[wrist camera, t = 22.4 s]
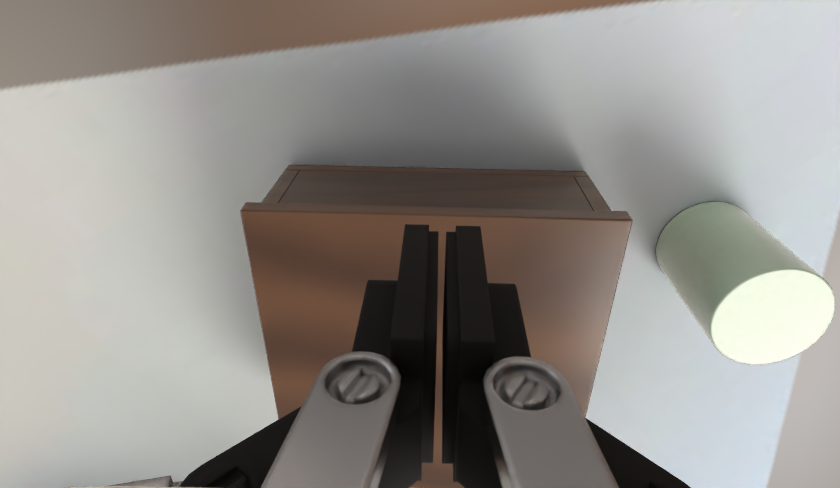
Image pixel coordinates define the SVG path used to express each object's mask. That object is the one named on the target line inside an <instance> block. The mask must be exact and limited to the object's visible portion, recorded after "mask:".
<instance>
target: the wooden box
mask: <svg viewBox="0 0 840 488" xmlns="http://www.w3.org/2000/svg"><path fill="white" fill-rule="evenodd" d="M262 203H293V204H335V205H377V206H419V207H461V208H502V209H544V210H586V211H611V209H610V208H609V206H608V205H607V203H606V202H605V200H604V199H603V197H602V196H601V194H600V193H599V191H598V190H597V188H596V187H595V185H594V184H593V182H592V180H591V179H590V177H588V175H587V173H586V172H585V171H542V170H496V169H451V168H405V167H359V166H314V165H289V166H288V167H287V168H286V170H285V171H284V172H283V174H282V175H281V177H280V178H279V179H278V181H277V182H276V183H275V185H274V186H273V187H272V189H271V190H270V192H269V193H268V194H267V196H266V197H265V198H264V200H263V201H262Z"/></svg>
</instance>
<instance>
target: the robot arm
mask: <svg viewBox="0 0 840 488" xmlns="http://www.w3.org/2000/svg"><path fill="white" fill-rule="evenodd" d="M438 235H439V231H429V225H417V224H405V228H404V236H403V243H402V251H401V259H400V266H399V274H398V280H368V282H367V285H366V289H365V294H364V299H363V303H362V308H361V312H360V317H359V321H358V326H357V330H356V335H355V340H354V344H353V349H352V352H351V353H346V354H343V355H340V356H338V357H336V358H333V359H332V360H331V361H329V362H328V363H327V364H325V365H324V366H323V368H322V369H321V370H320V372H319V373H318V375H317V377H316V379H315V381H314V383H313V385H312V387H311V388H310V390H309V392H308V394H307V396H306V398H305V400H304V402H303V404H302V406H301V407H299V408H298V409H296V410H294V411H292V412H291V413H289V414H287V415H286V416H284V417H282V418H281V419H279V420H277V421H276V422H274V423H272V424H270V425H269V426H267V427H265V428H264V429H262V430H260V431H259V432H257V433H255V434H253V435H252V436H250V437H248V438H247V439H245V440H243V441H242V442H240V443H238V444H237V445H235V446H233V447H231V448H230V449H228V450H226V451H225V452H223V453H221V454H220V455H218V456H216V457H215V458H213V459H211V460H209V461H208V462H206V463H204V464H203V465H201V466H200V467H198V468H197V469H196V470H194V471H193V472H192V473H190V474H189V475H188V476H187V477H186V479H185V480H184V481H180V482H174V483H173V481H172V478H171V476H166V477H160V478H154V479H148V480H142V481H135V482H129V483H123V484H117V485H111V486H103V487H68V488H409V487H410V486H412V485H413V484H414V483H415V482H417V481H421V476H422V463H433V449H434V417H435V386H436V354H437V301H438ZM442 464H453V482H459V483H460V484H461V485H462V486H463V487H464V488H690V487H689V486H688V485H687V484H685V483H684V482H682V481H681V480H679V479H678V478H676V477H675V476H673V475H672V474H670V473H669V472H667V471H666V470H664V469H663V468H661V467H660V466H658V465H657V464H655V463H653V462H652V461H650V460H649V459H647V458H646V457H644V456H643V455H641V454H640V453H638V452H637V451H635V450H634V449H632V448H631V447H629V446H627V445H626V444H624V443H623V442H621V441H620V440H618V439H617V438H615V437H614V436H612V435H611V434H609V433H608V432H606V431H605V430H603V429H601V428H600V427H598V426H597V425H595V424H594V423H592V422H591V421H589V420H588V419H586V418H585V417H584V414H583V412H582V410H581V408H580V406H579V404H578V402H577V400H576V398H575V396H574V394H573V392H572V390H571V388H570V386H569V384H568V382H567V380H566V379H565V378H564V376H563V375H562V373H561V372H559V371H558V370H557V369H556V368H554V367H553V366H552V365H550V364H548V363H546V362H544V361H541V360H538V359H534V358H531V354H530V349H529V344H528V340H527V335H526V330H525V325H524V320H523V316H522V311H521V306H520V301H519V297H518V292H517V288H516V285H515V284H507V283H488V281H487V273H486V265H485V257H484V250H483V242H482V234H481V227H480V226H456V230H455V232H446V250H445V277H444V303H443V331H442Z"/></svg>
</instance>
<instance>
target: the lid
mask: <svg viewBox="0 0 840 488" xmlns="http://www.w3.org/2000/svg"><path fill="white" fill-rule="evenodd" d="M240 212H241V217H242V223H243V228H244V234H245V239H246V245H247V250H248V256H249V261H250V266H251V272H252V277H253V283H254V288H255V294H256V299H257V304H258V310H259V315H260V321H261V326H262V332H263V337H264V342H265V348H266V353H267V359H268V364H269V370H270V375H271V381H272V386H273V391H274V397H275V402H276V408H277V413H278V419H281V418H282V417H284V416H286V415H287V414H289V413H291V412H292V411H294V410H296V409H298V408H299V407H301V406H302V404H303V402H304V400H305V398H306V396H307V394H308V392H309V390H310V388H311V387H312V385H313V383H314V381H315V379H316V377H317V375H318V373H319V372H320V370H321V369H322V368H323V366H324V365H325V364H327V363H328V362H329V361H331V360H332V359H333V358H336V357H338V356H340V355H343V354H346V353H351V352H352V349H353V344H354V340H355V335H356V330H357V326H358V321H359V317H360V312H361V308H362V303H363V299H364V294H365V289H366V285H367V282H368V280H398V274H399V266H400V259H401V251H402V243H403V236H404V228H405V224H417V225H429V231H439V235H438V301H437V354H436V386H435V417H434V449H433V463H422V476H421V481H417V482H415V483H414V484H413V485H412V486H410V487H409V488H464V487H463V486H462V485H461V484H460V483H459V482H453V464H442V331H443V303H444V277H445V250H446V232H455V230H456V226H480V227H481V234H482V242H483V250H484V257H485V265H486V273H487V281H488V283H507V284H515V285H516V288H517V292H518V297H519V301H520V306H521V311H522V316H523V320H524V325H525V330H526V335H527V340H528V344H529V349H530V354H531V358H534V359H538V360H541V361H544V362H546V363H548V364H550V365H552V366H553V367H554V368H556V369H557V370H558V371H559V372H561V373H562V375H563V376H564V378H565V379H566V380H567V382H568V384H569V386H570V388H571V390H572V392H573V394H574V396H575V398H576V400H577V402H578V404H579V406H580V408H581V410H582V412H583V414H584V417H586V413H587V409H588V404H589V400H590V396H591V392H592V388H593V383H594V379H595V375H596V371H597V367H598V363H599V358H600V354H601V350H602V346H603V342H604V337H605V333H606V329H607V325H608V321H609V317H610V312H611V308H612V304H613V300H614V296H615V291H616V287H617V283H618V279H619V275H620V271H621V266H622V262H623V258H624V254H625V250H626V245H627V241H628V237H629V233H630V229H631V225H632V219H631V217H630V216H629V214H628V212H626V211H586V210H544V209H502V208H461V207H419V206H377V205H335V204H293V203H251V202H247V203H245V205H244V206H243V208H242V209H241V211H240Z"/></svg>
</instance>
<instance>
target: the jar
mask: <svg viewBox="0 0 840 488" xmlns="http://www.w3.org/2000/svg"><path fill="white" fill-rule="evenodd" d="M656 257H657V262H658V265H659V266H660V268H661V270H662V271H663V273H664V274H665V276H666V277H667V279H668V280H669V281H670V283H671V284H672V286H673V287H674V289H675V290H676V291H677V293H678V294H679V296H680V297H681V299H682V300H683V302H684V303H685V304H686V306H687V307H688V309H689V310H690V312H691V313H692V315H693V316H694V317H695V319H696V320H697V322H698V323H699V325H700V326H701V327H702V329H703V330H704V332H705V333H706V335H707V336H708V338H709V339H710V340H711V342H712V343H713V345H714V346H715V347H716V349H717V350H718V351H719V352H720V353H721V354H722V355H724V356H725V357H727V358H729V359H731V360H733V361H736V362H739V363H744V364H752V365H762V364H770V363H775V362H779V361H782V360H786V359H788V358H791V357H793V356H795V355H797V354H799V353H801V352H802V351H804V350H806V349H807V348H808V347H810V346H811V345H813V344H814V343H815V342H816V341H817V340H818V339H819V338H820V337H821V336H822V335H823V334H824V332H825V331H826V330H827V328H828V327H829V325H830V323H831V321H832V319H833V315H834V311H835V297H834V293H833V291H832V288H831V287H830V285H829V284H828V283H827V282H826V281H825V279H823V278H822V277H821V276H820V275H819V274H818V273H816V272H815V271H814V270H813V269H812V268H810V267H809V266H808V265H807V264H806V263H805V262H803V261H802V260H801V259H800V258H799V257H798V256H796V255H795V254H794V253H793V252H792V251H790V250H789V249H788V248H787V247H786V246H785V245H783V244H782V243H781V242H780V241H779V240H778V239H776V238H775V237H774V236H773V235H772V234H771V233H769V232H768V231H767V230H766V229H765V228H763V227H762V226H761V225H760V224H759V223H758V222H756V221H755V220H754V219H753V218H752V217H751V216H749V215H748V214H747V213H746V212H745V211H743V210H742V209H741V208H739V207H737V206H735V205H733V204H730V203H725V202H706V203H701V204H698V205H695V206H692V207H690V208H688V209H686V210H684V211H682V212H681V213H679V214H678V215H676V216H675V217H674V218H673V219H672V220H671V221H670V222H669V223H668V224H667V225H666V226H665V228H664V229H663V231H662V232H661V234H660V237H659V239H658V242H657V247H656Z"/></svg>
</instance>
